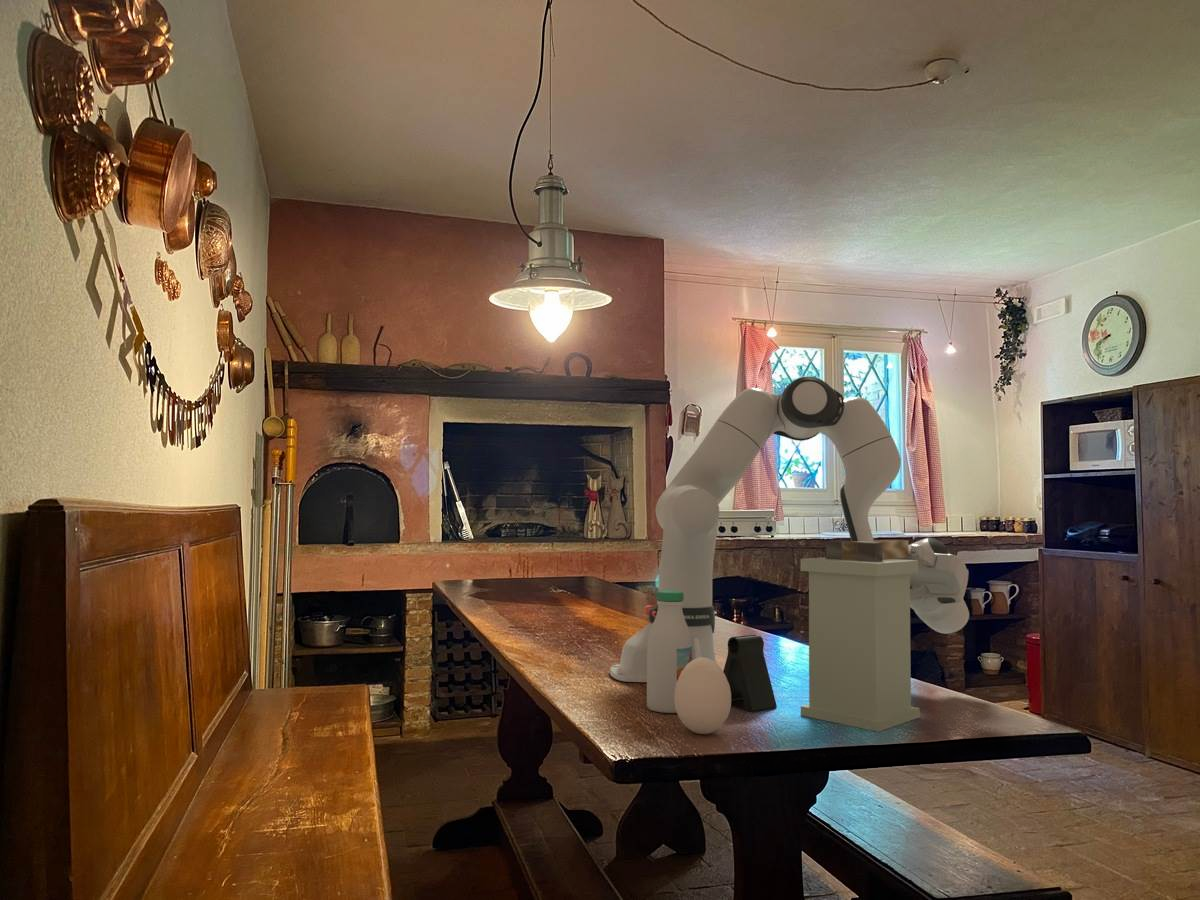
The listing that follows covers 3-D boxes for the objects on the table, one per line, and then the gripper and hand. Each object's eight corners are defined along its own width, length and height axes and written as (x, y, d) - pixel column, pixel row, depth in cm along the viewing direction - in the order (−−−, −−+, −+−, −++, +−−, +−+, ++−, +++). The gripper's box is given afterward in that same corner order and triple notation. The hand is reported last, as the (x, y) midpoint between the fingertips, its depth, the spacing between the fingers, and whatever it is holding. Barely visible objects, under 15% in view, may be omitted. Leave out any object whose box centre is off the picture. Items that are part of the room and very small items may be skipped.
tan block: (877, 555, 159) (877, 539, 160) (924, 558, 153) (924, 541, 153) (825, 558, 147) (825, 541, 147) (875, 561, 140) (874, 543, 141)
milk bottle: (661, 716, 142) (662, 593, 144) (638, 706, 149) (639, 589, 150) (700, 711, 146) (701, 592, 147) (676, 702, 153) (677, 588, 154)
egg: (671, 725, 136) (672, 652, 137) (726, 726, 136) (726, 653, 137) (677, 740, 127) (677, 662, 128) (735, 741, 128) (736, 663, 128)
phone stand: (776, 708, 149) (776, 638, 150) (752, 712, 146) (752, 640, 146) (739, 698, 156) (739, 631, 157) (715, 702, 153) (715, 634, 154)
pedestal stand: (843, 702, 154) (843, 556, 156) (919, 717, 144) (917, 560, 146) (800, 715, 144) (800, 558, 146) (878, 731, 134) (877, 563, 136)
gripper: (872, 564, 170) (841, 529, 162) (977, 571, 155) (948, 533, 147) (864, 593, 167) (832, 559, 159) (970, 603, 153) (941, 566, 145)
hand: (889, 547), depth 153 cm, fingers open, 8 cm apart
